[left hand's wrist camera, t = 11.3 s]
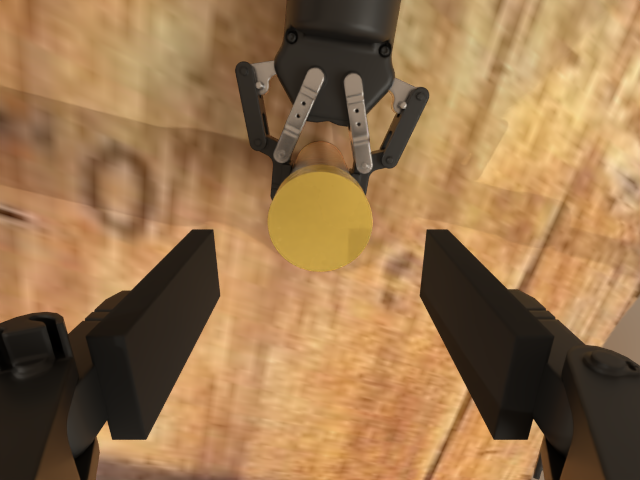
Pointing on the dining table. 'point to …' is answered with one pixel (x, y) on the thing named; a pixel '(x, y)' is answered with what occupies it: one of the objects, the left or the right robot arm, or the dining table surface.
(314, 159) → the tan cylinder
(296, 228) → the lid
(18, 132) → the dining table surface
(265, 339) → the dining table surface
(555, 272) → the dining table surface
